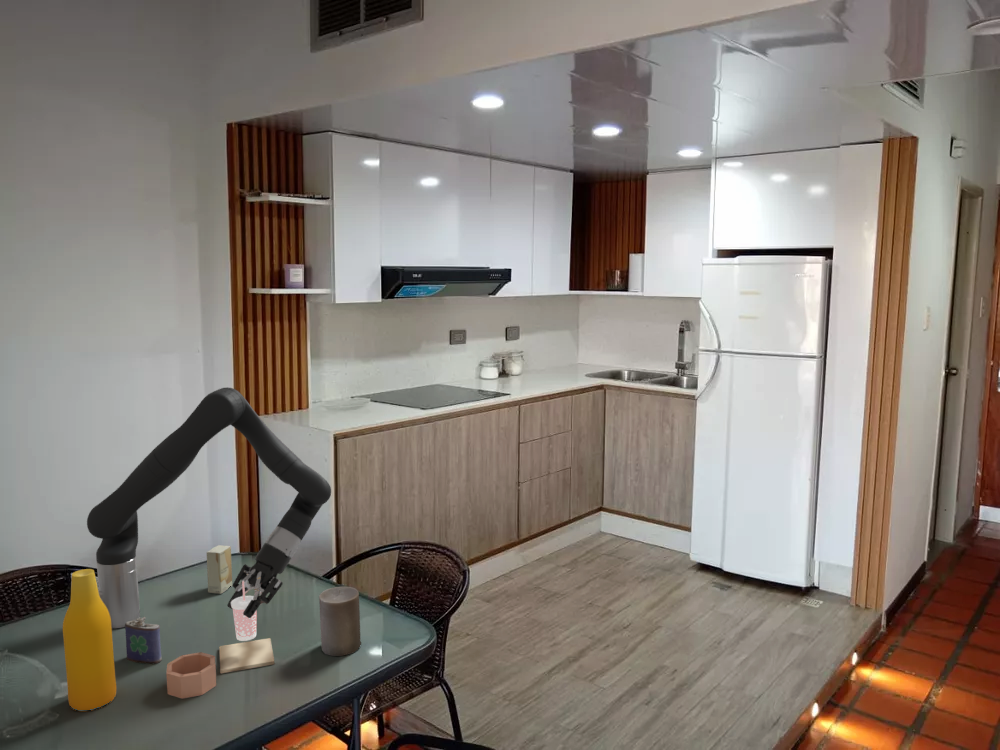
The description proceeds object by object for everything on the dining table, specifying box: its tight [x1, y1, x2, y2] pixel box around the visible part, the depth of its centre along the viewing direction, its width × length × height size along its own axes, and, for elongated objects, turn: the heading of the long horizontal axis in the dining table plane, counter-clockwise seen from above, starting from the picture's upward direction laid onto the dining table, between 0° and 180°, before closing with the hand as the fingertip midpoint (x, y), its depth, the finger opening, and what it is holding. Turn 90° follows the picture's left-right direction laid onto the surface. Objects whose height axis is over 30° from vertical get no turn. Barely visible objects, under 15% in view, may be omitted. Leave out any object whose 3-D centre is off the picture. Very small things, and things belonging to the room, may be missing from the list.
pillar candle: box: [318, 586, 362, 657], centre depth 190 cm, size 10×10×15 cm
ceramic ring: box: [165, 651, 217, 699], centre depth 174 cm, size 10×10×5 cm
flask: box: [124, 616, 162, 665], centre depth 184 cm, size 9×3×11 cm, turn 74°
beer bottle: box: [62, 568, 117, 710], centre depth 166 cm, size 9×9×29 cm
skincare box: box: [206, 544, 233, 595], centre depth 224 cm, size 6×4×12 cm
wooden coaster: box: [219, 637, 275, 674], centre depth 186 cm, size 12×12×1 cm
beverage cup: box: [231, 580, 258, 642], centre depth 185 cm, size 6×6×14 cm
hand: (238, 612), depth 184 cm, fingers closed on beverage cup, 6 cm apart
